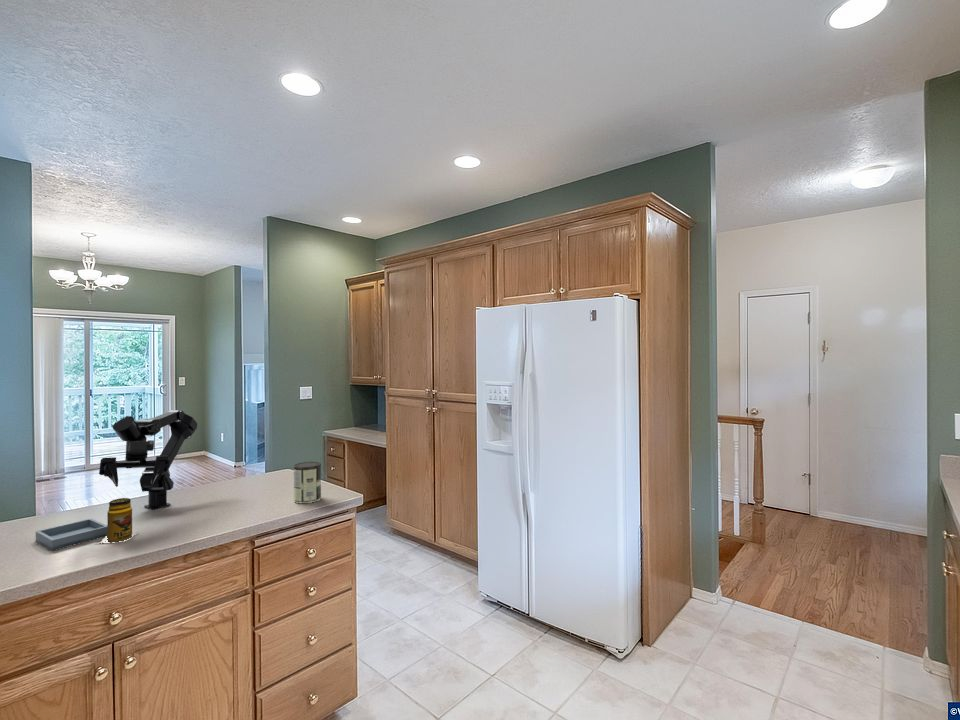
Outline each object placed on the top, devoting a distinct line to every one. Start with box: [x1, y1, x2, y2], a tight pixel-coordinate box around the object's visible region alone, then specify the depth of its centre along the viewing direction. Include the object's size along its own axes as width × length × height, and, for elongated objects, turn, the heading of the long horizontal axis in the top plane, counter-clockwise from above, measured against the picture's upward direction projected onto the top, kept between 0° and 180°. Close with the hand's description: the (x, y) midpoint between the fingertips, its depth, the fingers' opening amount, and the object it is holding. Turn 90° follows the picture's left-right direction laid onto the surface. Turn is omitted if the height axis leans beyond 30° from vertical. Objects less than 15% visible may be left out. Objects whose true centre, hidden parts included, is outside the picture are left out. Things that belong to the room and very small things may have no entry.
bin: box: [35, 518, 107, 552], centre depth 142 cm, size 14×14×3 cm
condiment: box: [100, 497, 139, 545], centre depth 142 cm, size 7×8×12 cm
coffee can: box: [292, 461, 322, 504], centre depth 182 cm, size 10×10×14 cm
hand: (134, 484), depth 150 cm, fingers open, 9 cm apart
